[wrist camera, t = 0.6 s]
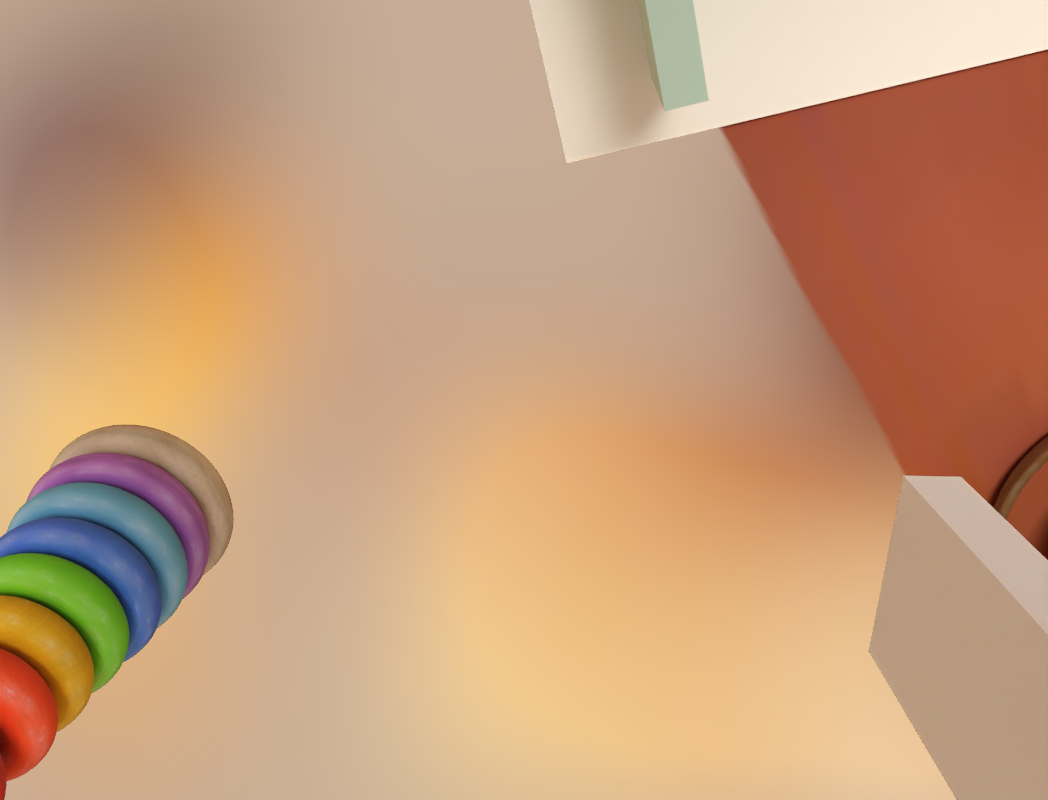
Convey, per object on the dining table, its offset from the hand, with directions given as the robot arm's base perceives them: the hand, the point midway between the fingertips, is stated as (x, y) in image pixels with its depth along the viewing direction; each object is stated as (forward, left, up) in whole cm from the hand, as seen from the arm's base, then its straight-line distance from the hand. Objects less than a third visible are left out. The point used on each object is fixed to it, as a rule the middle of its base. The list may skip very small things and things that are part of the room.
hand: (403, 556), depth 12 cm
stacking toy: (+19, +11, -24) cm, 32 cm away
